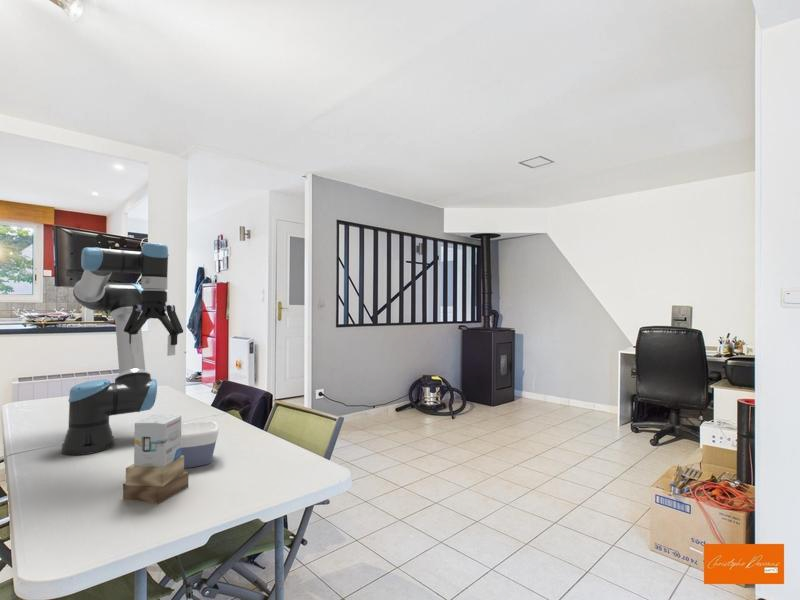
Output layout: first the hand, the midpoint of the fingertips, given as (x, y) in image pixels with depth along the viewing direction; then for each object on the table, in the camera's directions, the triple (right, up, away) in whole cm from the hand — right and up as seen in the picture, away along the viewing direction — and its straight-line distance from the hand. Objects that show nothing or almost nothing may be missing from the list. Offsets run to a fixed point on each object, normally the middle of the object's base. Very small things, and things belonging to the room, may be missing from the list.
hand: (152, 354), depth 140 cm
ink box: (+15, -26, -24) cm, 39 cm away
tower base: (+15, -35, -24) cm, 45 cm away
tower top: (+15, -31, -24) cm, 42 cm away
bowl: (+14, -35, -1) cm, 38 cm away
